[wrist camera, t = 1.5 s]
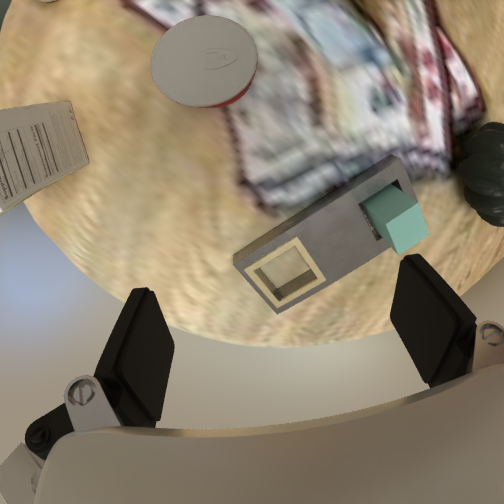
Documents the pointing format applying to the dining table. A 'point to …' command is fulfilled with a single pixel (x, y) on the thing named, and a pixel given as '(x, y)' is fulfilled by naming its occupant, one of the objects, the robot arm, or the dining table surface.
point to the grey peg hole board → (324, 237)
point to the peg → (396, 218)
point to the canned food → (204, 62)
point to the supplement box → (37, 149)
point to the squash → (485, 173)
